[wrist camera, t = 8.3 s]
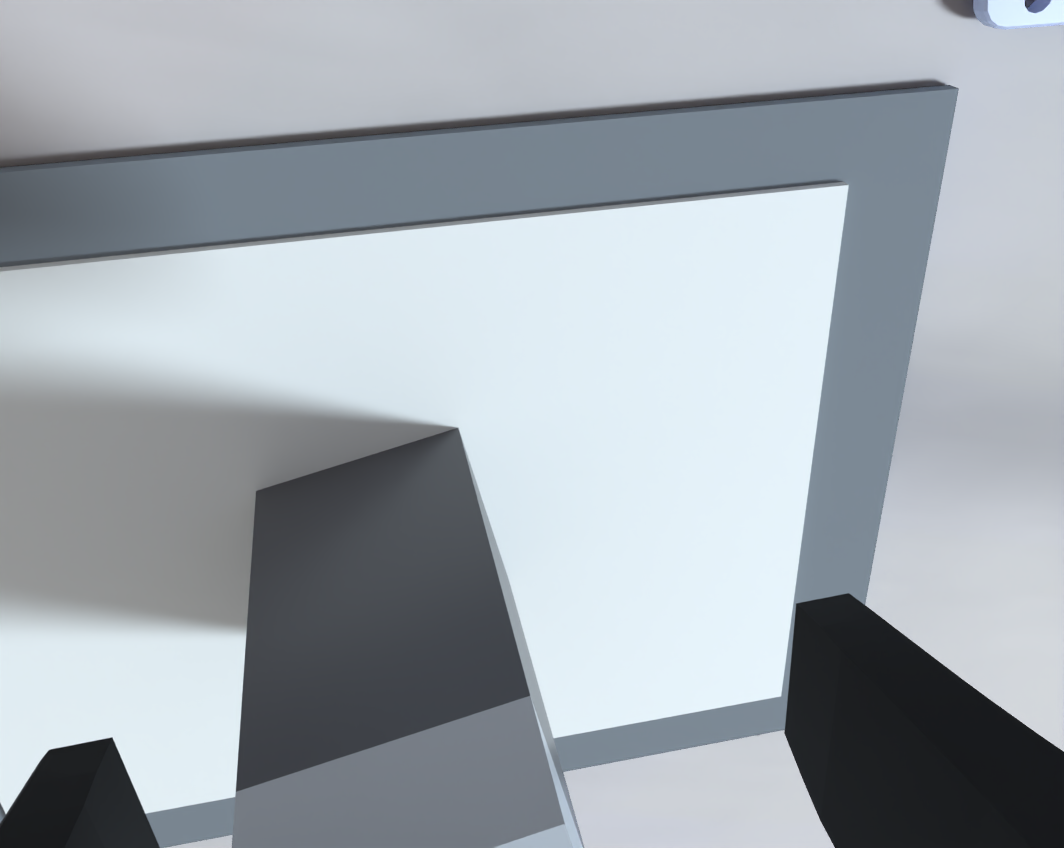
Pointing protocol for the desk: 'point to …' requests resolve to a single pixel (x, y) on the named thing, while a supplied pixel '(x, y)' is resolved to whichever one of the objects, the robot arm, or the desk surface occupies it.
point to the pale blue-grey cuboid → (390, 668)
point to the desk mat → (457, 404)
